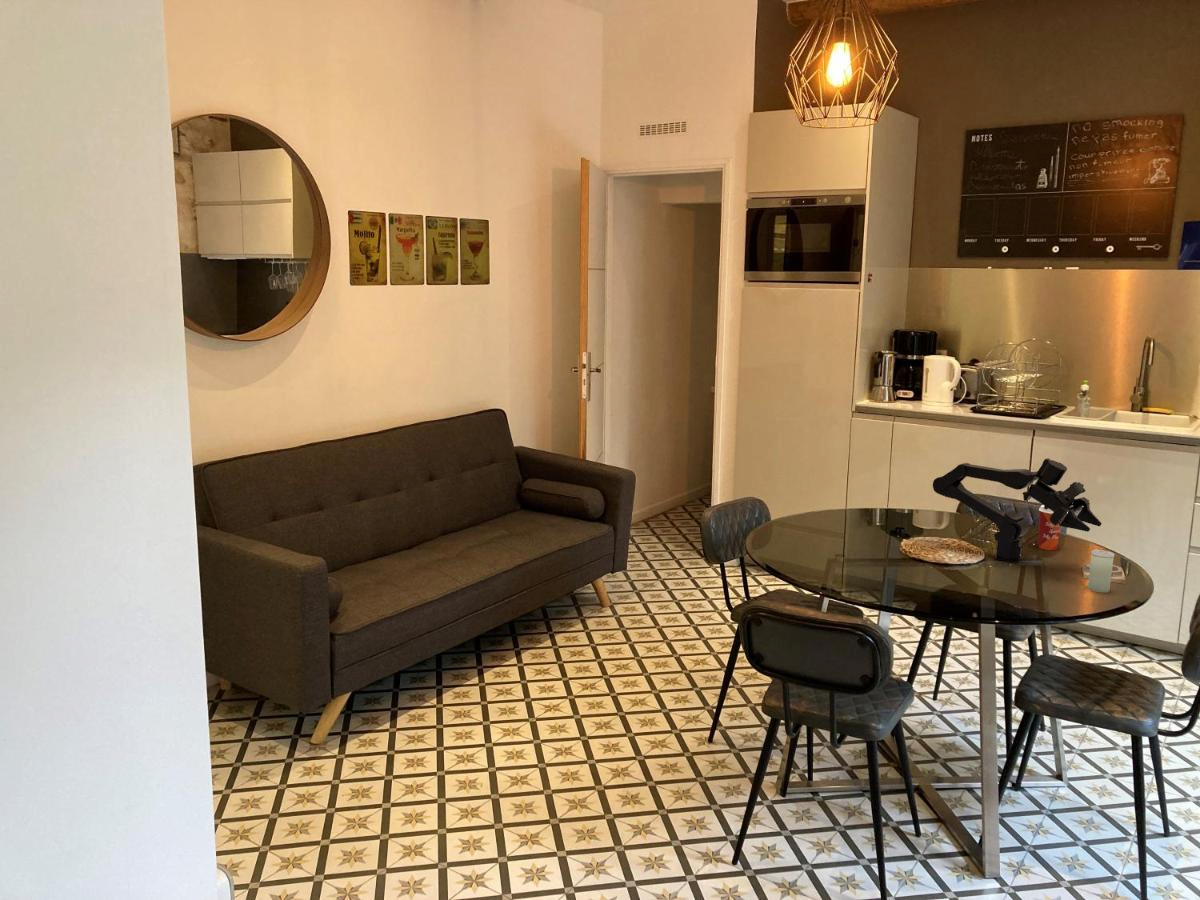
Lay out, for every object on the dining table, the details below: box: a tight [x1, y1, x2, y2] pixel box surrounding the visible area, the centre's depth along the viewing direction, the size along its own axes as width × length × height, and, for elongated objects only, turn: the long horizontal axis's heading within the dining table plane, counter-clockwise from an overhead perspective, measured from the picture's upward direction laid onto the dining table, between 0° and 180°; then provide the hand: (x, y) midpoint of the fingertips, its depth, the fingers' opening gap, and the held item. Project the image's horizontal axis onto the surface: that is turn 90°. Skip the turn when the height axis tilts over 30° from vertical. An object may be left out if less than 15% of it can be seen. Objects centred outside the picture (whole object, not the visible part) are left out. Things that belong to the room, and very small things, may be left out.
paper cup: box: [1037, 504, 1062, 551], centre depth 311 cm, size 8×8×14 cm
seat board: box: [1081, 562, 1127, 585], centre depth 284 cm, size 11×11×3 cm
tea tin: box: [1087, 549, 1115, 594], centre depth 270 cm, size 6×6×11 cm
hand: (1095, 527), depth 279 cm, fingers open, 9 cm apart
